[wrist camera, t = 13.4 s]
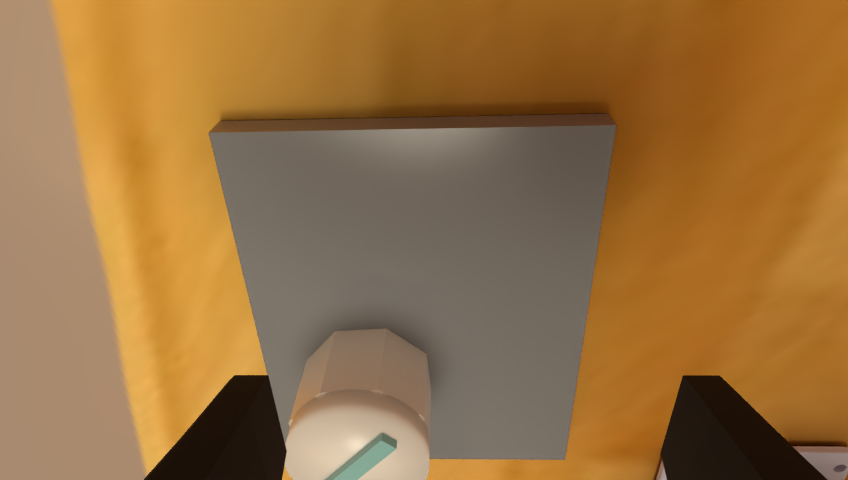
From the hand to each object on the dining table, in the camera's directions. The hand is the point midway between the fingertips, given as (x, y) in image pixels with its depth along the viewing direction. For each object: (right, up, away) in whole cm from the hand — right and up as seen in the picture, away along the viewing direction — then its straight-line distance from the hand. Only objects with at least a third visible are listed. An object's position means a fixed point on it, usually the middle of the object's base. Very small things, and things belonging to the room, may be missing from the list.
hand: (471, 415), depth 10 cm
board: (-1, +1, +11) cm, 11 cm away
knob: (-3, -2, +12) cm, 12 cm away
